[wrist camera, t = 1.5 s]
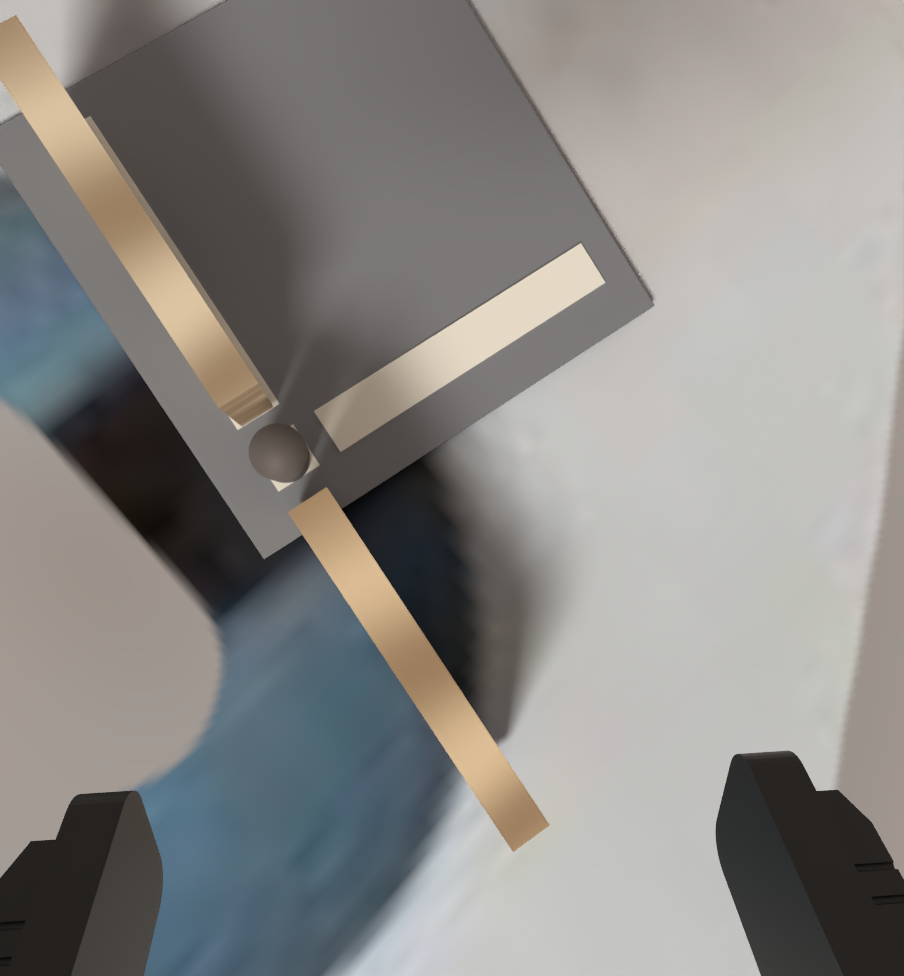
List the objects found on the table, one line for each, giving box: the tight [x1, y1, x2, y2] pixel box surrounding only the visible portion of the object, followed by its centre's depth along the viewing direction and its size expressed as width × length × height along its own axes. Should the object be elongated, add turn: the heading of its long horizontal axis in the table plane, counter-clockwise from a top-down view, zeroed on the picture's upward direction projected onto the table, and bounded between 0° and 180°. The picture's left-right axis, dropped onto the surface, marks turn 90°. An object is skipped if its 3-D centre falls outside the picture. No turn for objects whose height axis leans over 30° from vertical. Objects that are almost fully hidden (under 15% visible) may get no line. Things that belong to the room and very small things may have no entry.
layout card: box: [0, 0, 655, 559], centre depth 35 cm, size 20×20×1 cm
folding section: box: [288, 487, 549, 852], centre depth 31 cm, size 14×2×7 cm, turn 33°
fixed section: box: [0, 15, 310, 483], centre depth 31 cm, size 17×2×8 cm, turn 33°
